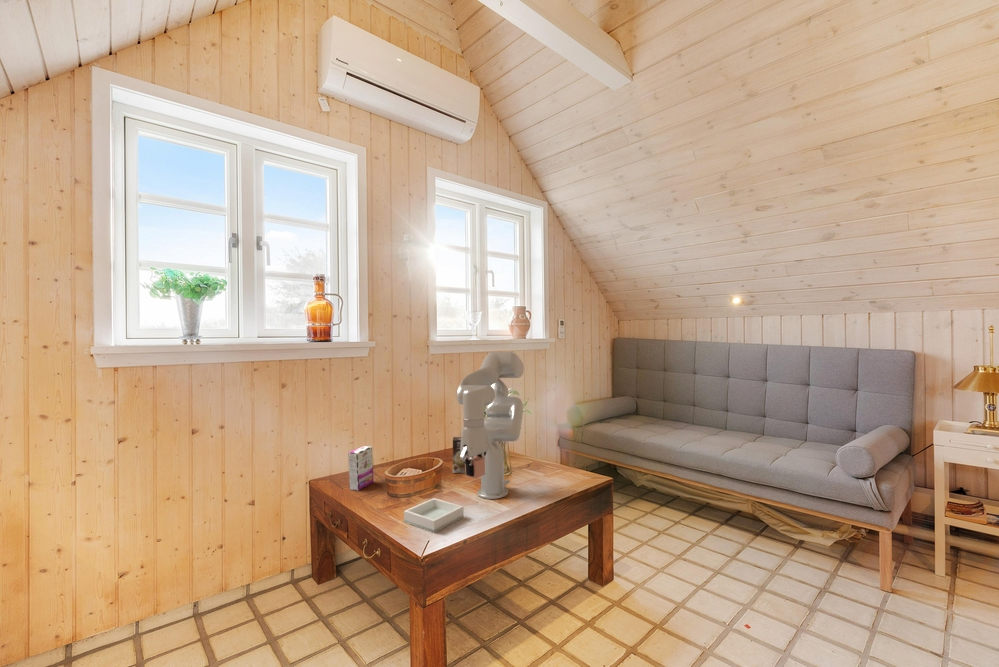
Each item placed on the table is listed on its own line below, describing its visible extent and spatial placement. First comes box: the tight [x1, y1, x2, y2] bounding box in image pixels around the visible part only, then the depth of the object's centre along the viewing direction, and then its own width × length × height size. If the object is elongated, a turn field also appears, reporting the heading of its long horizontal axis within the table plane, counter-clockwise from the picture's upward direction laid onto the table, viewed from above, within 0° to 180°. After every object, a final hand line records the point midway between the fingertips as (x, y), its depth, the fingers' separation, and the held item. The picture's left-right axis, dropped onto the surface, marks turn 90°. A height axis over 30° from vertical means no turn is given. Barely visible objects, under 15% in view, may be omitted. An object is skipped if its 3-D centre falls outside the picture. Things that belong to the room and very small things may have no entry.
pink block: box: [464, 455, 485, 479], centre depth 161 cm, size 5×5×6 cm
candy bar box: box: [348, 445, 374, 491], centre depth 198 cm, size 11×5×16 cm, turn 161°
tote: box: [403, 497, 465, 534], centre depth 161 cm, size 15×15×4 cm
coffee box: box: [452, 436, 465, 474], centre depth 215 cm, size 9×6×16 cm
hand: (475, 472), depth 161 cm, fingers closed on pink block, 5 cm apart
